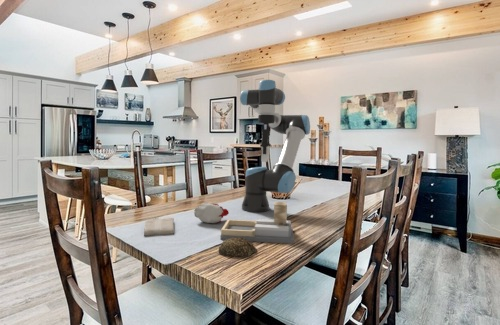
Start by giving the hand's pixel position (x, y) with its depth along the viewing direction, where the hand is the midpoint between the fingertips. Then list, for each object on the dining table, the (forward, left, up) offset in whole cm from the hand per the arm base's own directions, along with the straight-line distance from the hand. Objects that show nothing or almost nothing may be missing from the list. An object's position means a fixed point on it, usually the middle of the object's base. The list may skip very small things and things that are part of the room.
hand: (265, 160), depth 134 cm
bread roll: (-7, -38, -29) cm, 48 cm away
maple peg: (+8, -20, -27) cm, 35 cm away
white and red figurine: (-23, -6, -29) cm, 37 cm away
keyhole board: (-2, -20, -29) cm, 35 cm away
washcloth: (-43, -19, -29) cm, 56 cm away
